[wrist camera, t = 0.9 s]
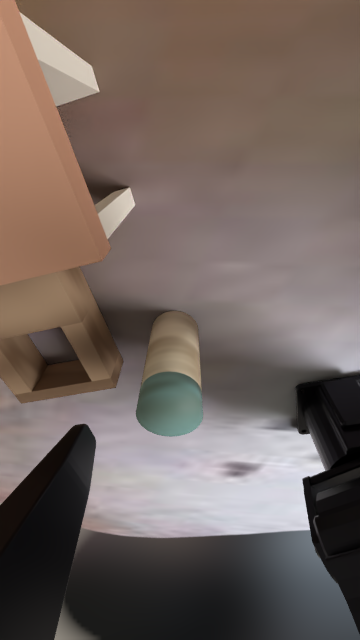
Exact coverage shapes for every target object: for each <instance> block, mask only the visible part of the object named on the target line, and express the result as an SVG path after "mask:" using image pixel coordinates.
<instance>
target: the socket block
mask: <svg viewBox="0 0 360 640" xmlns="http://www.w3.org/2000/svg"><path fill="white" fill-rule="evenodd" d="M57 327H61V328H62V330H63V332H64V333H65V335H66V337H67V339H68V340H69V342H70V344H71V346H72V347H73V349H74V351H75V353H76V354H77V356H78V358H79V360H74V361H69V362H64V363H58V364H53V365H47V363H46V362H45V360H44V359H43V357H42V356H41V354H40V353H39V351H38V349H37V348H36V346H35V345H34V343H33V342H32V340H31V339H30V337H29V336H28V334H29V333H33V332H38V331H43V330H48V329H53V328H57ZM122 364H123V359H122V357H121V355H120V353H119V351H118V348H117V346H116V344H115V342H114V340H113V338H112V336H111V333H110V331H109V329H108V327H107V325H106V323H105V321H104V318H103V316H102V314H101V312H100V310H99V308H98V305H97V303H96V301H95V299H94V297H93V295H92V293H91V290H90V288H89V286H88V284H87V282H86V280H85V278H84V275H83V273H82V271H81V269H80V267H75V268H71V269H67V270H63V271H59V272H54V273H50V274H46V275H42V276H38V277H34V278H29V279H25V280H21V281H17V282H13V283H9V284H5V285H0V377H1V379H2V380H3V381H4V382H5V384H6V385H7V386H8V387H9V389H10V390H11V391H12V392H13V394H14V395H15V396H16V397H17V399H18V400H19V401H20V402H21V403H27V402H33V401H39V400H45V399H51V398H57V397H63V396H69V395H75V394H81V393H87V392H93V391H99V390H105V389H111V388H116V385H117V382H118V378H119V375H120V371H121V368H122Z"/></svg>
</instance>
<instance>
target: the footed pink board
mask: <svg viewBox="0 0 360 640" xmlns="http://www.w3.org/2000/svg"><path fill="white" fill-rule="evenodd" d="M98 92H100V91H99V88H98V85H97V82H96V79H95V76H94V72H93V69H92V66H91V65H89V64H88V63H87V62H85V61H84V60H83V59H81V58H80V57H79V56H77V55H76V54H75V53H73V52H72V51H71V50H69V49H68V48H67V47H65V46H64V45H63V44H61V43H60V42H59V41H57V40H56V39H55V38H53V37H52V36H51V35H49V34H48V33H47V32H45V31H44V30H43V29H41V28H40V27H39V26H37V25H36V24H35V23H33V22H32V21H31V20H29V19H28V18H27V17H25V16H24V15H23V14H21V13H20V12H19V10H18V7H17V5H16V2H15V0H0V285H5V284H9V283H13V282H17V281H21V280H25V279H29V278H34V277H38V276H42V275H46V274H50V273H54V272H59V271H63V270H67V269H71V268H75V267H79V266H83V265H88V264H92V263H96V262H100V261H103V259H104V258H105V256H106V255H107V254H108V252H109V251H110V249H111V247H110V244H109V242H108V238H109V237H110V236H111V235H112V233H113V232H114V231H115V230H116V228H117V227H118V226H119V225H120V223H121V222H122V221H123V220H124V218H125V217H126V216H127V215H128V213H129V212H130V211H131V210H132V208H133V207H134V206H135V202H134V199H133V196H132V193H131V190H130V187H129V188H125V189H122V190H118V191H114V192H113V193H111V194H110V195H108V196H107V197H106V198H104V199H103V200H101V201H100V202H99V203H97V204H96V205H94V203H93V201H92V198H91V195H90V193H89V190H88V188H87V185H86V183H85V180H84V177H83V175H82V172H81V170H80V167H79V165H78V162H77V159H76V157H75V154H74V152H73V149H72V147H71V144H70V141H69V139H68V136H67V134H66V131H65V128H64V126H63V123H62V121H61V118H60V116H59V113H58V110H57V108H56V106H59V105H62V104H65V103H68V102H71V101H74V100H77V99H80V98H83V97H86V96H89V95H92V94H95V93H98Z"/></svg>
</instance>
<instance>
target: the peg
mask: <svg viewBox="0 0 360 640" xmlns="http://www.w3.org/2000/svg"><path fill="white" fill-rule="evenodd" d="M136 417H137V420H138V422H139V423H140V424H141V426H143V427H144V428H145V429H146V430H148V431H150V432H152V433H154V434H157V435H162V436H180V435H184V434H187V433H190V432H192V431H193V430H195V429H196V428H197V427H198V426H199V425H200V423H201V421H202V418H203V410H202V391H201V372H200V354H199V335H198V326H197V323H196V321H195V320H194V319H193V318H192V317H191V316H190V315H188V314H186V313H184V312H180V311H169V312H165V313H163V314H161V315H160V316H158V317H157V318H156V319H155V321H154V323H153V325H152V330H151V336H150V341H149V346H148V351H147V357H146V362H145V367H144V372H143V378H142V383H141V388H140V393H139V399H138V404H137V409H136Z"/></svg>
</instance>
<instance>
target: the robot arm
mask: <svg viewBox="0 0 360 640" xmlns="http://www.w3.org/2000/svg"><path fill="white" fill-rule="evenodd" d="M295 390H296V412H297V429H298V432H299V433H300V434H311V437H312V439H313V442H314V444H315V446H316V449H317V451H318V454H319V456H320V459H321V461H322V463H323V466H324V468H325V471H324V472H322V473H319V474H317V475H314V476H312V477H310V476H308V477H305V478H303V486H304V495H305V501H306V507H307V513H308V519H309V525H310V531H311V537H312V542H313V544H314V547H315V551H316V553H317V555H318V556H319V557H320V558H321V560H322V562H323V564H324V565H325V567H326V569H327V571H328V572H329V574H330V575H331V577H332V578H333V579H334V580H335V581H336V583H338V584H339V587H340V589H341V591H342V593H343V595H344V597H345V599H346V601H347V604H348V606H349V609H350V611H351V613H352V616H353V619H354V621H355V624H356V626H357V629H358V631H359V634H360V375H359V376H352V377H345V378H339V379H332V380H326V381H319V382H313V383H306V384H300V385H298V386H297V387H296V389H295ZM95 449H96V440H95V437H94V435H93V434H92V432H91V430H90V428H89V427H88V425H86V424H79V425H75V426H73V427H72V428H71V429H70V430H69V431H68V432H67V433H66V435H65V436H64V437H63V438H62V439H61V440H60V441H59V442H58V443H57V444H56V445H55V446H54V448H53V449H52V450H51V451H50V452H49V453H48V454H47V455H46V456H45V457H44V458H43V459H42V461H41V462H40V463H39V464H38V465H37V466H36V467H35V468H34V469H33V470H32V471H31V472H30V474H29V475H28V476H27V477H26V478H25V479H24V480H23V481H22V482H21V483H20V484H19V486H18V487H17V488H16V489H15V490H14V491H13V492H12V493H11V494H10V495H9V496H8V497H7V499H6V500H5V501H4V502H3V503H2V504H1V505H0V640H54V638H55V634H56V629H57V625H58V621H59V617H60V613H61V608H62V604H63V600H64V596H65V592H66V587H67V583H68V579H69V575H70V571H71V566H72V563H73V558H74V554H75V550H76V546H77V542H78V537H79V533H80V529H81V525H82V521H83V517H84V513H85V508H86V504H87V500H88V495H89V491H90V485H91V478H92V470H93V463H94V456H95Z"/></svg>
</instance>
